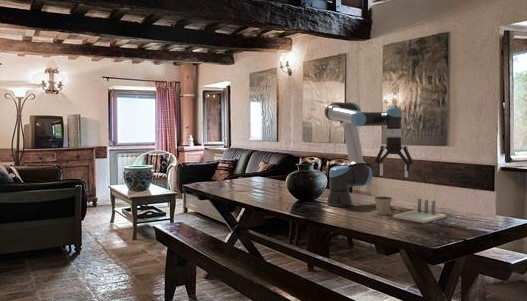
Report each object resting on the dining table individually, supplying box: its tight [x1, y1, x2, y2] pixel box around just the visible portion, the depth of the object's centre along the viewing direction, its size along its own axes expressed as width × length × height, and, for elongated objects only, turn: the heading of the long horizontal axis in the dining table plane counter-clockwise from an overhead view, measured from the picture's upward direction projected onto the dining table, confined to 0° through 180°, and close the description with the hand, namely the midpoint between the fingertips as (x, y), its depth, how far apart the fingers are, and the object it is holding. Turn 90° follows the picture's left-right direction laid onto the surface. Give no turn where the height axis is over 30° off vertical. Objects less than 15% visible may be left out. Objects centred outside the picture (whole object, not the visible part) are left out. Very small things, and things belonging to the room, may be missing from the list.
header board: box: [392, 198, 447, 224], centre depth 223 cm, size 18×20×8 cm
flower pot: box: [373, 196, 393, 216], centre depth 233 cm, size 9×9×9 cm
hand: (393, 176), depth 233 cm, fingers open, 13 cm apart
